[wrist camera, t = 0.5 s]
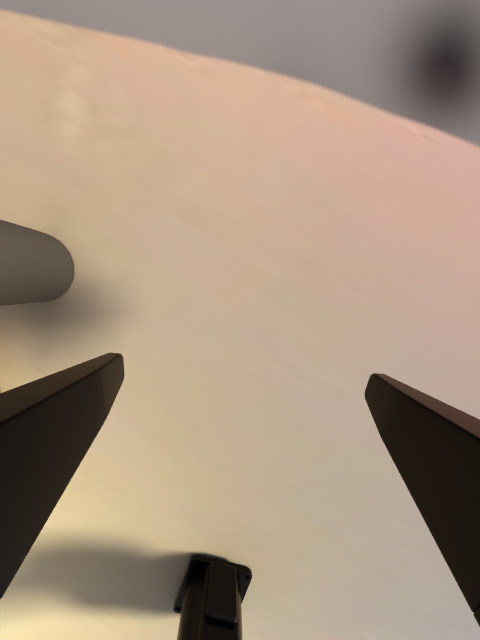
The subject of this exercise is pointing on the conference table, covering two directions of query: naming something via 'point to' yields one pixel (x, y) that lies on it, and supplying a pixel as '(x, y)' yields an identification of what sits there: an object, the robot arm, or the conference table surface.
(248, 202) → the conference table surface
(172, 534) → the conference table surface
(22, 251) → the bottle
